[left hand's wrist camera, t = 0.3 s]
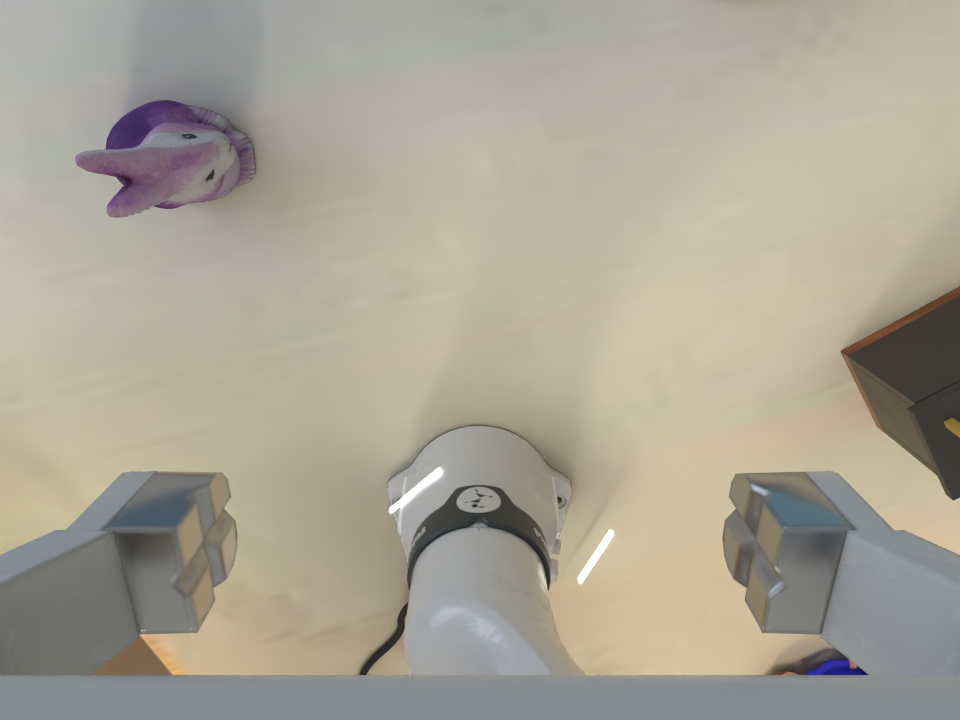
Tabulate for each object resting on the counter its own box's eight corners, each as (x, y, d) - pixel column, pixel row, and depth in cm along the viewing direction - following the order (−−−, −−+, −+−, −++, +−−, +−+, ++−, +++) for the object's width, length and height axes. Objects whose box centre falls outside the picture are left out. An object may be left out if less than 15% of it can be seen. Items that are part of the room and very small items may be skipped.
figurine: (285, 149, 54) (216, 165, 40) (209, 233, 56) (120, 276, 42) (193, 58, 51) (86, 42, 37) (118, 151, 54) (-8, 169, 40)
